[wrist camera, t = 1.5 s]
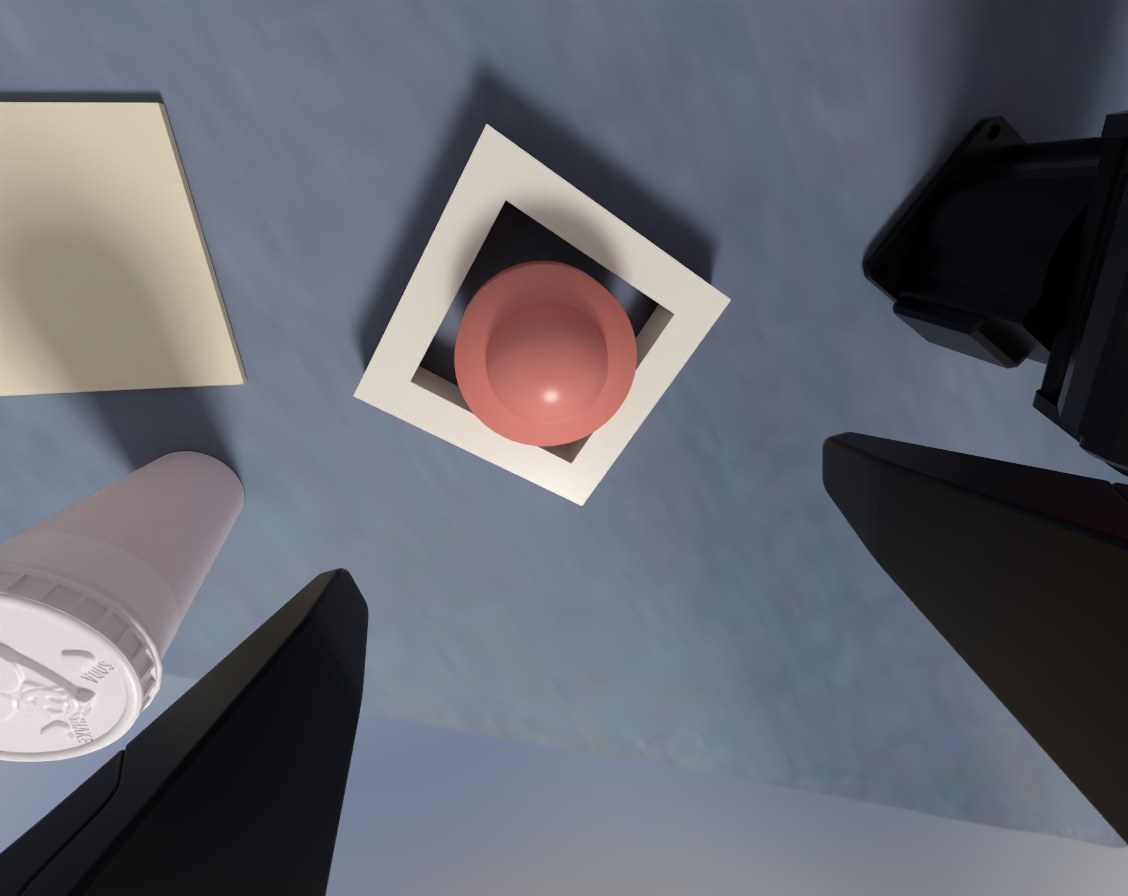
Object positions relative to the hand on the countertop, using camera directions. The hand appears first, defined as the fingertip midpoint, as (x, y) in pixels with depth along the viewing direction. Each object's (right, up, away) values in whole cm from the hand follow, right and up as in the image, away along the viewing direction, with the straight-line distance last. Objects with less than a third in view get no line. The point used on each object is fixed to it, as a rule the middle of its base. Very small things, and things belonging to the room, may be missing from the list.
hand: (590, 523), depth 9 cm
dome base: (-1, +6, +12) cm, 13 cm away
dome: (-1, +5, +10) cm, 11 cm away
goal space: (-17, +8, +9) cm, 21 cm away
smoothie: (-16, 0, +13) cm, 21 cm away
